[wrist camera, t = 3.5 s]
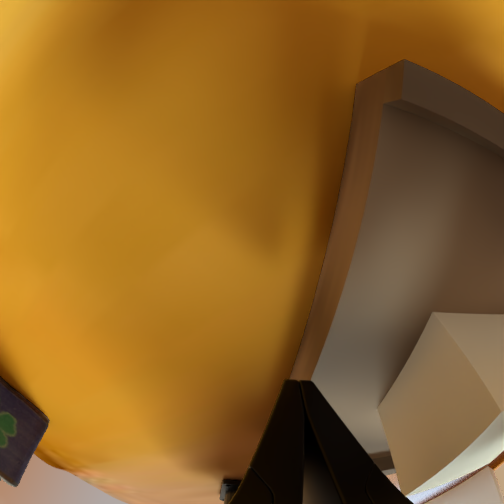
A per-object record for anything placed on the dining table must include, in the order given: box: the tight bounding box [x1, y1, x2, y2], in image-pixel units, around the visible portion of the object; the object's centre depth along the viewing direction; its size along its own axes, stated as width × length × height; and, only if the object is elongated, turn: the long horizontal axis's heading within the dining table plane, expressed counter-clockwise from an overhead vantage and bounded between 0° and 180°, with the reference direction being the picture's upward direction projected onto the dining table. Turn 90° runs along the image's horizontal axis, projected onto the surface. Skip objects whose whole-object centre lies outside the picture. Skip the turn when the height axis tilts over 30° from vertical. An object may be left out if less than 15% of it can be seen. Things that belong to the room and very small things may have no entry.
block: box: [377, 312, 504, 497], centre depth 7 cm, size 5×5×4 cm
